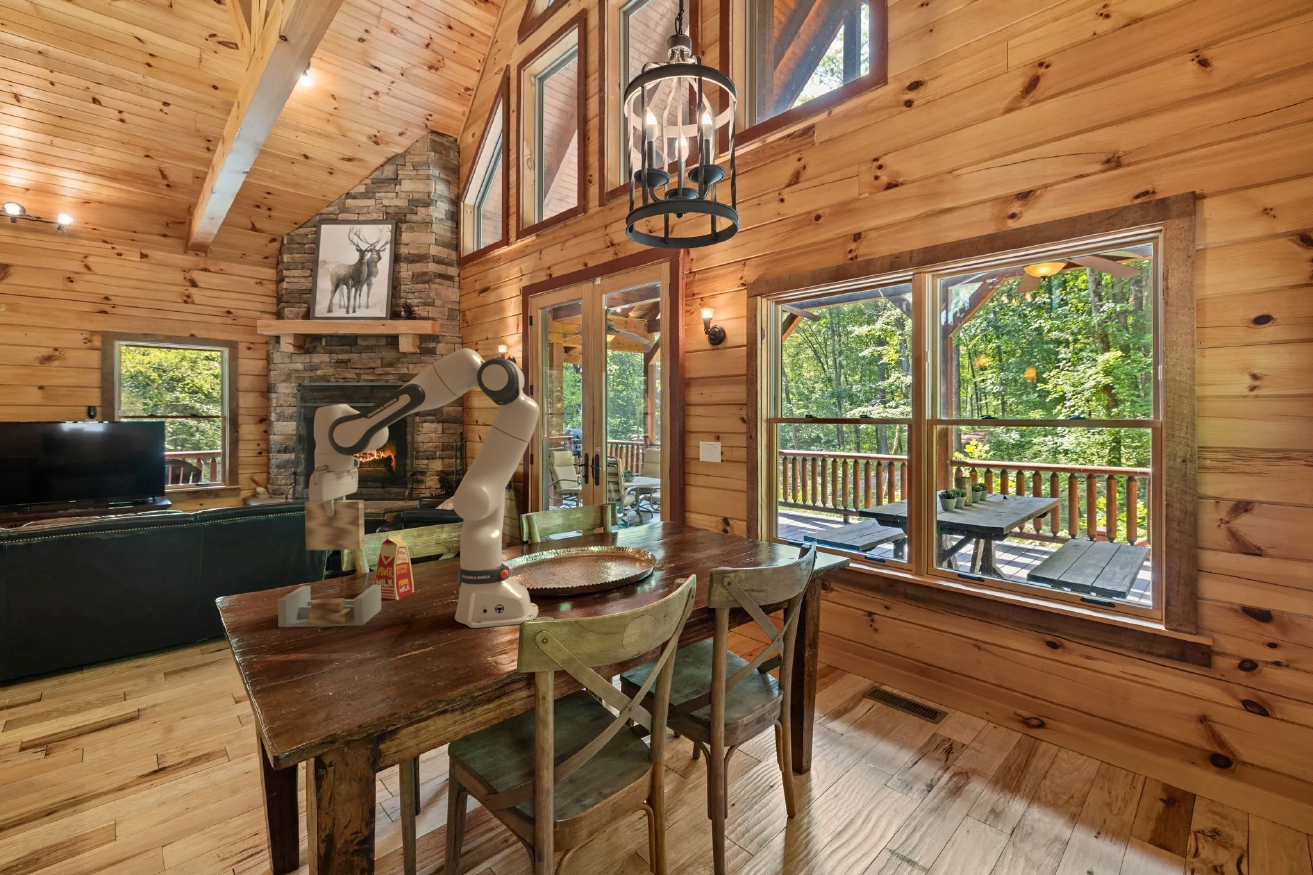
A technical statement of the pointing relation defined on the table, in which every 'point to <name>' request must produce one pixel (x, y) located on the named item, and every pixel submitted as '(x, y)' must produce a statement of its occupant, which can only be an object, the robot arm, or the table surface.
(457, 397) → the robot arm
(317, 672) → the table surface
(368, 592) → the rack
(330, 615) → the offcut
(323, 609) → the offcut
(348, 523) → the panel
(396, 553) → the milk carton
